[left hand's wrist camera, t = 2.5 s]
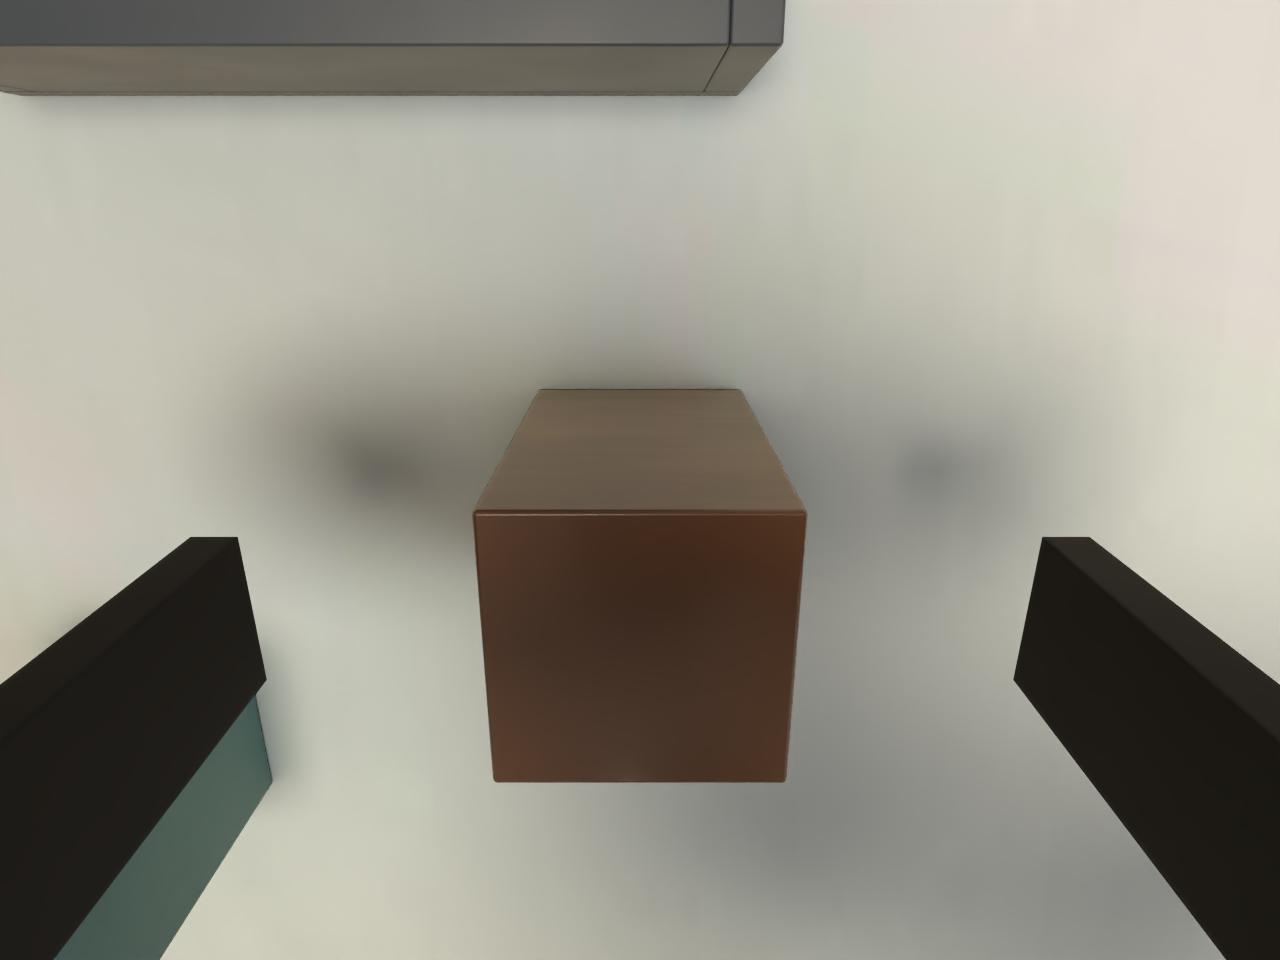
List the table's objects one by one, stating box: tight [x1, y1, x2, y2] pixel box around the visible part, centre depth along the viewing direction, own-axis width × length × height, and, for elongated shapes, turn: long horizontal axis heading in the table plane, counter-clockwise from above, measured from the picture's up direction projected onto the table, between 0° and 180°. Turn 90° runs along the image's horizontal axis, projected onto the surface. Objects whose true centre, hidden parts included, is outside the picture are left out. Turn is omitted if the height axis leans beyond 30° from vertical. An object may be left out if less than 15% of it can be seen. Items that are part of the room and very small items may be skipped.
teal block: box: [0, 681, 272, 960], centre depth 18 cm, size 5×5×8 cm
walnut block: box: [472, 390, 807, 782], centre depth 16 cm, size 5×5×8 cm
